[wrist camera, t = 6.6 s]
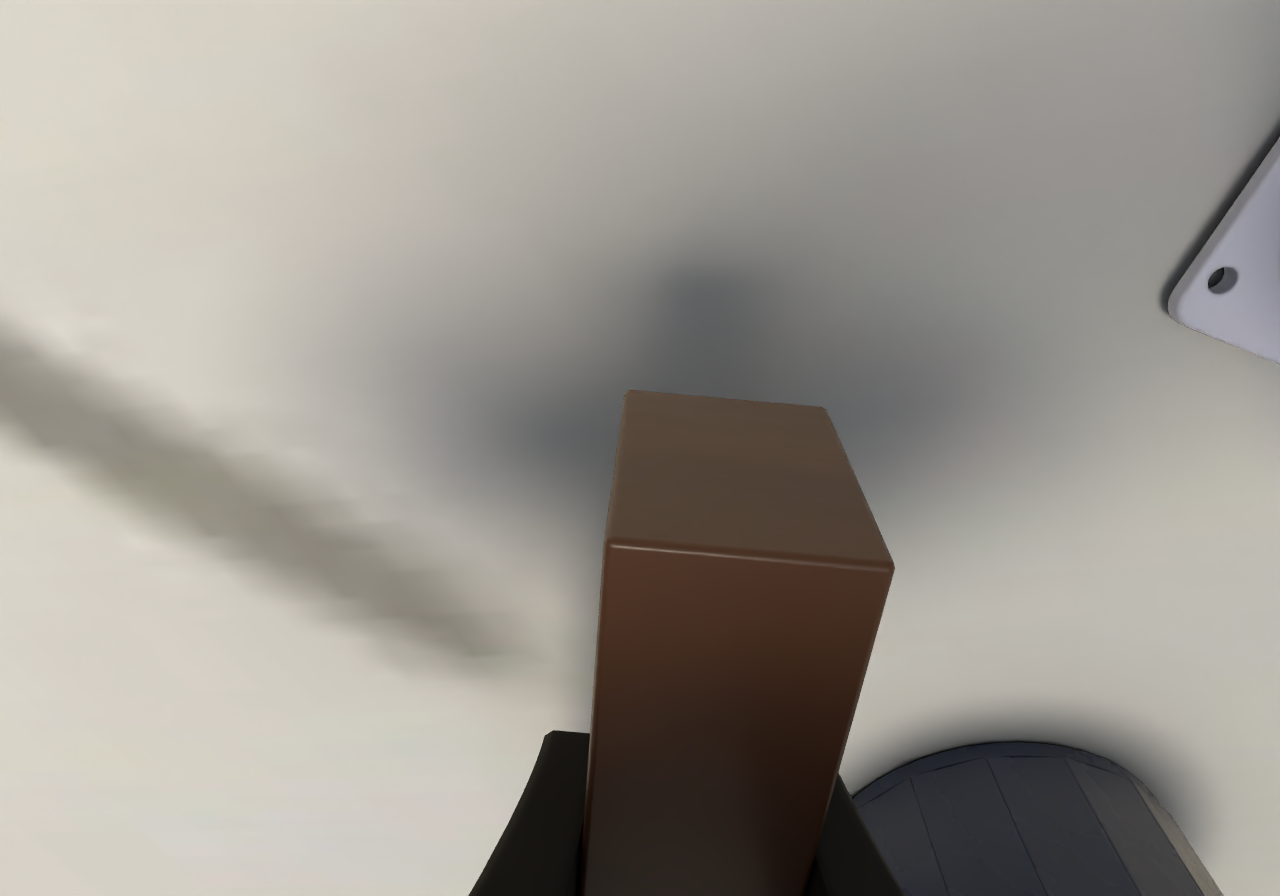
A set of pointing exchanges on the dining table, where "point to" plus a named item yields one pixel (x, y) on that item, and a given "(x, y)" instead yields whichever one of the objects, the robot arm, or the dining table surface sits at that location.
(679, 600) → the knife
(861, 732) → the dining table surface
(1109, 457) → the dining table surface
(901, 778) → the pot
